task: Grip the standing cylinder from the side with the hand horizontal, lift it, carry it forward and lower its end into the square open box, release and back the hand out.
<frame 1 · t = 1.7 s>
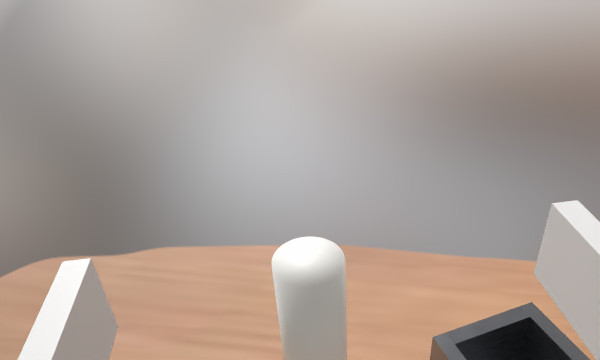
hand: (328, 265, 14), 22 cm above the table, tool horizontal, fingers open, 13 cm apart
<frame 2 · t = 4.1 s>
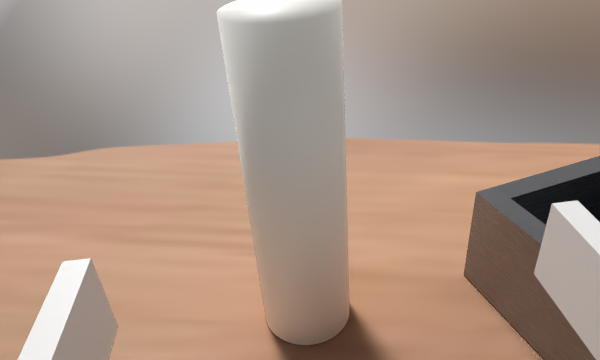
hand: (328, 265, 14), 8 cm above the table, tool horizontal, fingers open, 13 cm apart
cylinder: (307, 310, 23), on the table
square open box: (592, 305, 22), on the table
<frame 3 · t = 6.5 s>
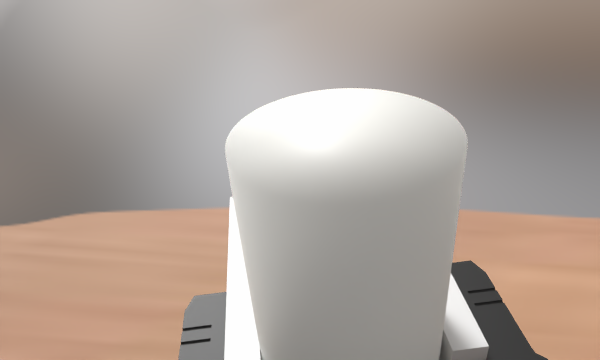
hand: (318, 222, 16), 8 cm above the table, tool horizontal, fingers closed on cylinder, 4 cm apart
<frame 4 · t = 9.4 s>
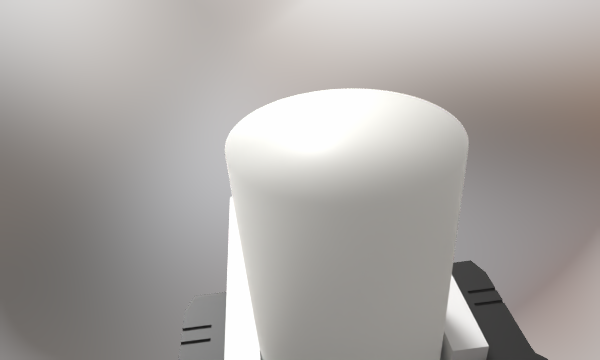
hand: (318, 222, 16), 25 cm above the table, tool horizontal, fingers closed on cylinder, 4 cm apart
when the fingers open (10 cm above the table, at t = 12.3 s): cylinder drops 1 cm, resting on square open box.
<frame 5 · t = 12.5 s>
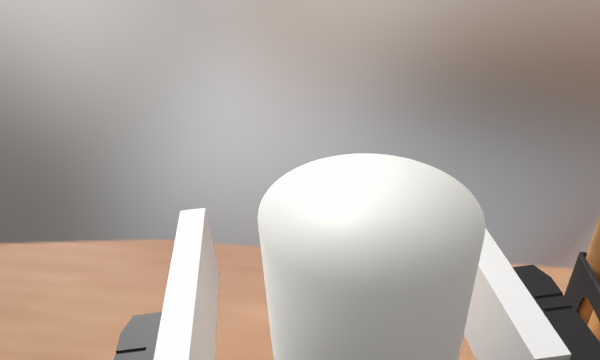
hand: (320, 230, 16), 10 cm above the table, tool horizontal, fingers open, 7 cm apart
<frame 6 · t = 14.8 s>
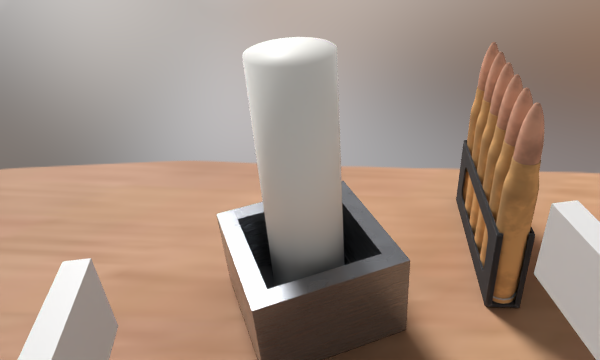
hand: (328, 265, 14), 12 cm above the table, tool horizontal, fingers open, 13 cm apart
cylinder: (310, 290, 28), point 1 cm above the table, touching square open box
ammunition clip: (483, 248, 32), on the table
square open box: (310, 301, 29), on the table
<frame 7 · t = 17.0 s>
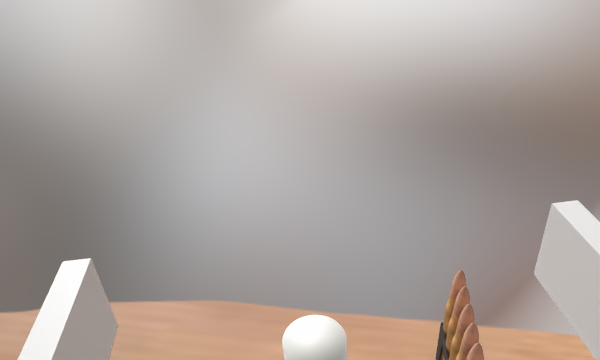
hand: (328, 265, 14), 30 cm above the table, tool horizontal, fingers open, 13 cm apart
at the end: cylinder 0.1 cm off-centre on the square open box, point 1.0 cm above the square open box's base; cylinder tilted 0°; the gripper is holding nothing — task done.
